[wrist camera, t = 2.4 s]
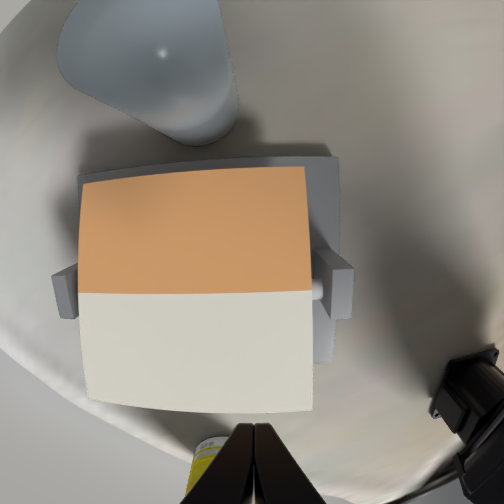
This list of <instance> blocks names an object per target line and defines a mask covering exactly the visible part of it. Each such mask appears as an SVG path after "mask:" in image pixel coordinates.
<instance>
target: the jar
mask: <svg viewBox="0 0 504 504" xmlns="http://www.w3.org/2000/svg"><path fill="white" fill-rule="evenodd" d="M57 61H58V66H59V69H60V72H61V74H62V76H63V77H64V79H65V80H66V81H67V82H68V83H69V84H70V85H71V86H72V87H74V88H75V89H77V90H79V91H81V92H83V93H85V94H87V95H90V96H92V97H94V98H96V99H98V100H100V101H102V102H104V103H106V104H108V105H110V106H112V107H114V108H116V109H118V110H119V111H121V112H123V113H125V114H127V115H129V116H131V117H133V118H135V119H137V120H139V121H141V122H142V123H144V124H146V125H148V126H150V127H152V128H154V129H156V130H157V131H159V132H161V133H163V134H165V135H167V136H168V137H170V138H172V139H174V140H176V141H177V142H179V143H182V144H185V145H190V146H201V145H207V144H210V143H213V142H215V141H217V140H219V139H220V138H222V137H223V136H224V135H226V134H227V133H228V132H229V131H230V129H231V128H232V127H233V125H234V124H235V122H236V120H237V117H238V114H239V109H240V102H239V95H238V91H237V86H236V81H235V76H234V72H233V67H232V62H231V58H230V53H229V48H228V44H227V39H226V35H225V30H224V26H223V21H222V17H221V12H220V8H219V3H218V0H80V1H79V2H78V3H77V5H76V6H75V7H74V8H73V10H72V11H71V13H70V14H69V16H68V18H67V19H66V21H65V23H64V25H63V28H62V30H61V33H60V36H59V40H58V45H57Z"/></svg>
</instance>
